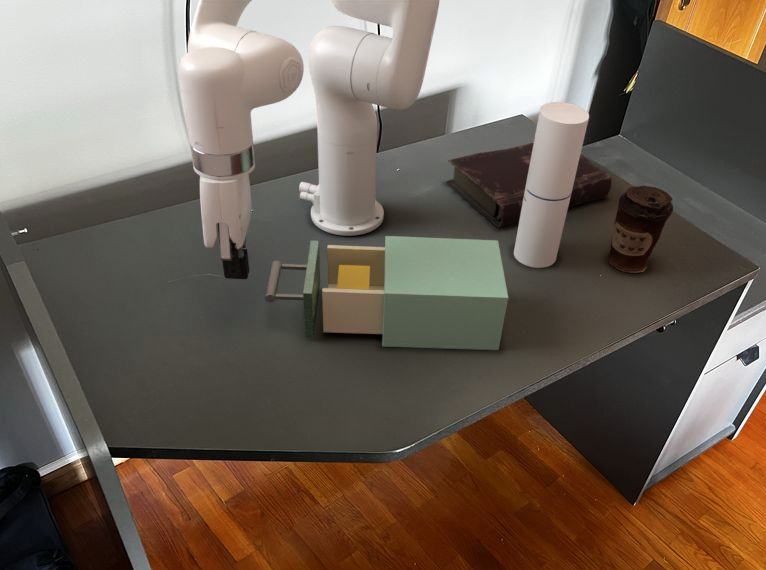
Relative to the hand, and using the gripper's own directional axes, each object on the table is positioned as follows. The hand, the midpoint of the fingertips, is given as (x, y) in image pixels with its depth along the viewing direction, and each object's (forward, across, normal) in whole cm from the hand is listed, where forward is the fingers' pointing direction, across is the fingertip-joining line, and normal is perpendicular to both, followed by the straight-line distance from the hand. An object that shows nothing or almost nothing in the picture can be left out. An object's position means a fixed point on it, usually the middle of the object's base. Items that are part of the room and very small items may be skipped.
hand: (237, 275), depth 103 cm
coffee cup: (+6, -16, +61) cm, 64 cm away
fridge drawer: (+6, 0, +15) cm, 16 cm away
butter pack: (+5, 0, +16) cm, 17 cm away
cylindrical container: (+6, -18, +46) cm, 50 cm away
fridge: (+6, 0, +29) cm, 30 cm away
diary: (+6, -38, +47) cm, 61 cm away
